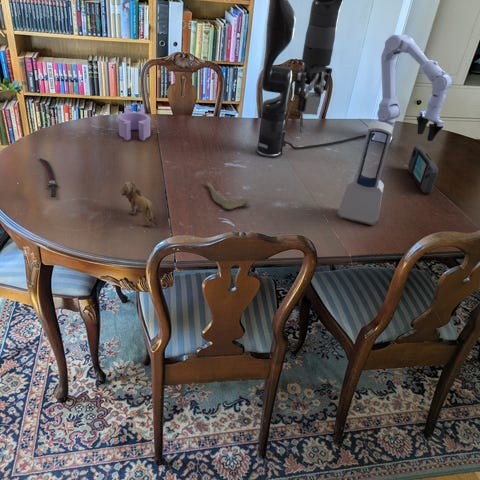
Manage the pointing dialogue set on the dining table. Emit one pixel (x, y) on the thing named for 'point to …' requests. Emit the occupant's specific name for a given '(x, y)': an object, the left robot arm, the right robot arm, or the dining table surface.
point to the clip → (134, 123)
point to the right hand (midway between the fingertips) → (424, 137)
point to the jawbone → (223, 201)
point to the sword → (52, 181)
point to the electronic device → (366, 184)
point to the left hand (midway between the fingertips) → (308, 108)
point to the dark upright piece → (295, 69)
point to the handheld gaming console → (423, 169)
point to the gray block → (312, 104)
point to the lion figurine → (137, 201)
